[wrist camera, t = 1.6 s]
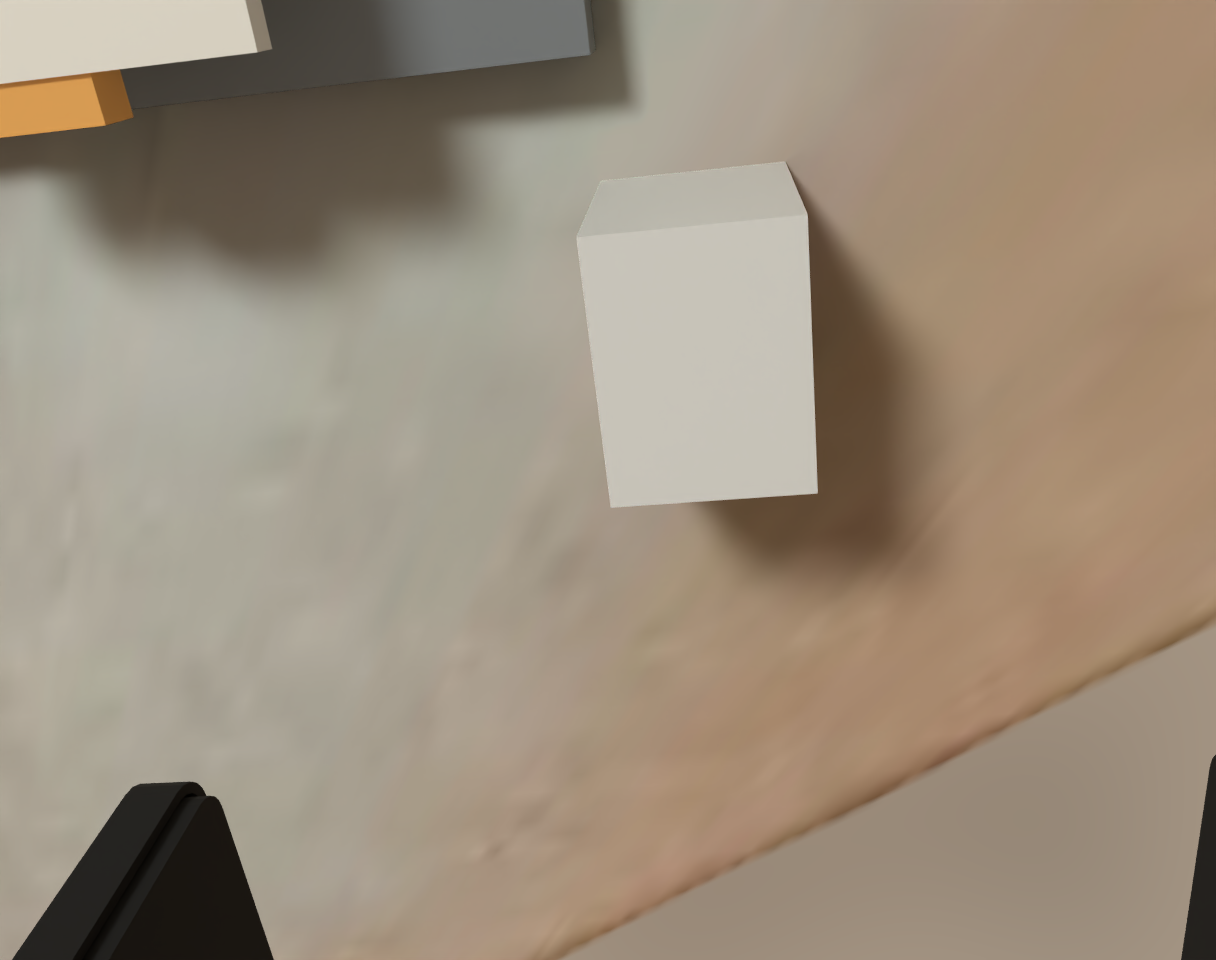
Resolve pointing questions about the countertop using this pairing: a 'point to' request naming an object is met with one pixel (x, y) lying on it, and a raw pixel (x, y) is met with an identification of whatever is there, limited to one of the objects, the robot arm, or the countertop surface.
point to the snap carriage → (106, 53)
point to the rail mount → (372, 46)
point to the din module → (701, 335)
